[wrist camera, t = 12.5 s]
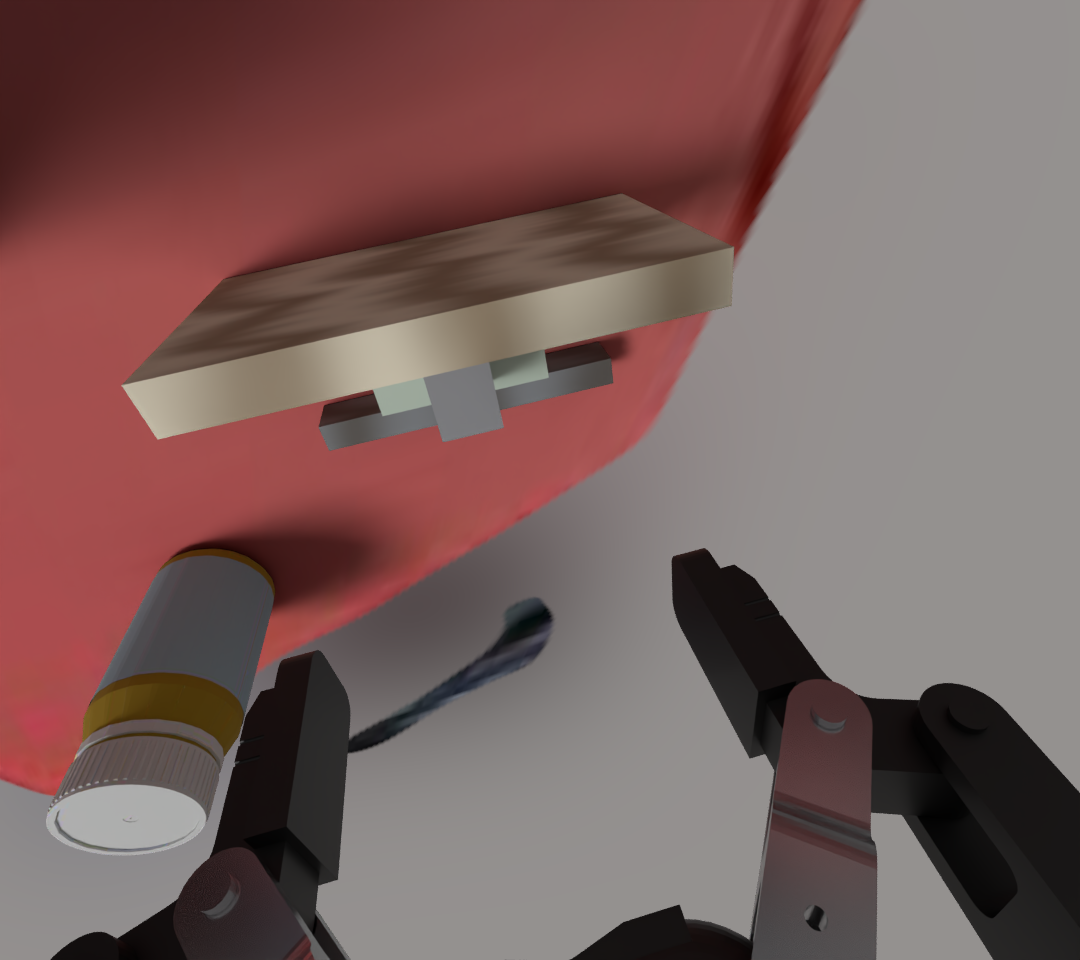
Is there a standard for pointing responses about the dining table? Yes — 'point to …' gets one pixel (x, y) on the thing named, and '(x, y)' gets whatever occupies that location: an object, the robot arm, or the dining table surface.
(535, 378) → the cabinet block
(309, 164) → the dining table surface
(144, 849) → the bottle
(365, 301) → the wall board
